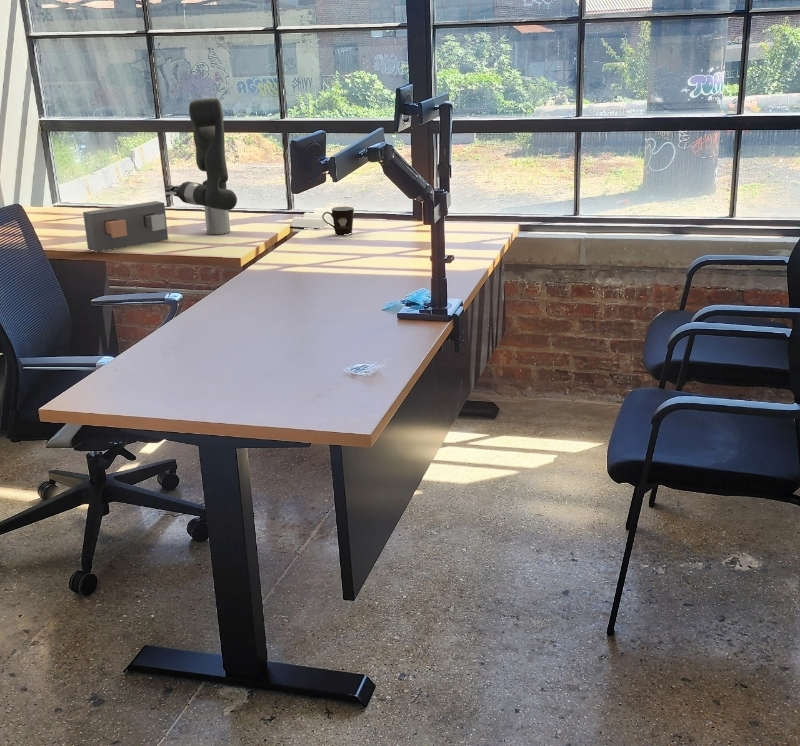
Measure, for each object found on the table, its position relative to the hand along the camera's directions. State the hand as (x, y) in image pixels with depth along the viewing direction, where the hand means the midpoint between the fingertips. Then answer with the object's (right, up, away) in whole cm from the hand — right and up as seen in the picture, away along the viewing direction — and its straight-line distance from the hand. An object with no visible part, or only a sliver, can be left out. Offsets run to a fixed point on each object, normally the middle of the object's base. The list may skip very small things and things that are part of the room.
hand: (168, 188), depth 331 cm
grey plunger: (-10, -12, +15) cm, 22 cm away
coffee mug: (+60, -13, +27) cm, 68 cm away
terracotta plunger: (-21, -16, +5) cm, 27 cm away
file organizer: (+52, -4, +52) cm, 73 cm away
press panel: (-19, -18, +15) cm, 30 cm away
